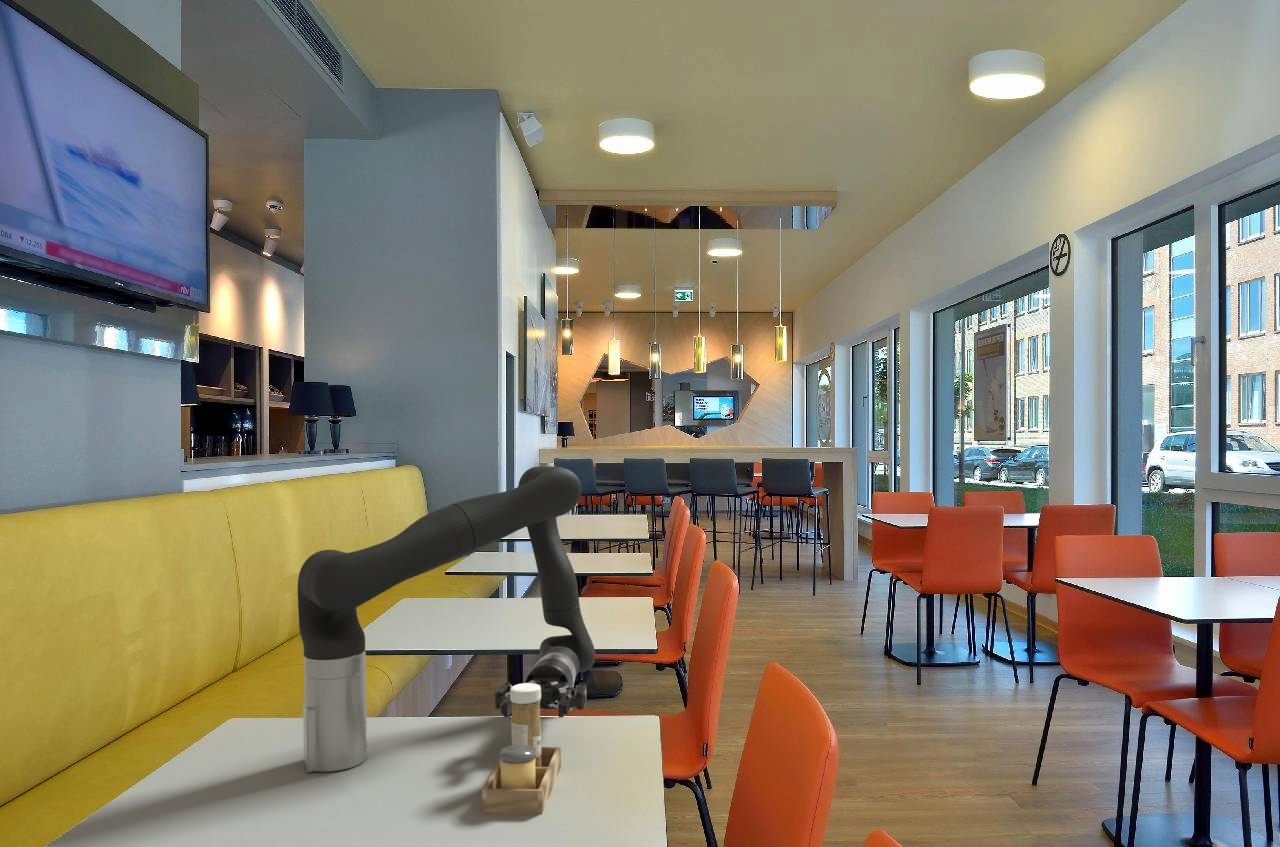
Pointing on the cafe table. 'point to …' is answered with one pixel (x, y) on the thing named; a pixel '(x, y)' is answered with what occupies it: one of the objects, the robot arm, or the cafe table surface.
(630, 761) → the cafe table surface
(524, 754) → the honey jar
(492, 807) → the caddy
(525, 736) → the sprinkles bottle
